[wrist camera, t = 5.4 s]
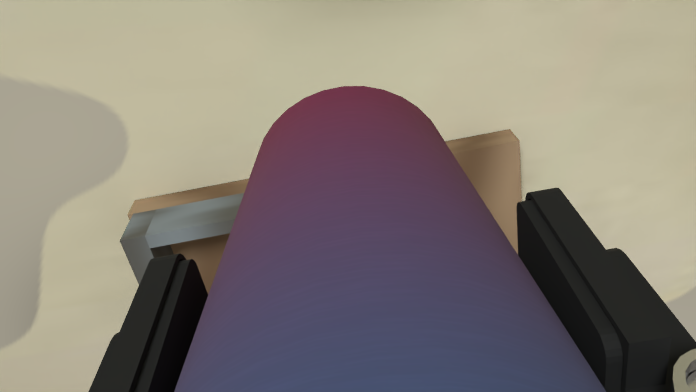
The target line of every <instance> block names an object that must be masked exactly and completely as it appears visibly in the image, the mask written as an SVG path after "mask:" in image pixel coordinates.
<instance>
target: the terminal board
mask: <svg viewBox="0 0 696 392" xmlns="http://www.w3.org/2000/svg"><path fill="white" fill-rule="evenodd" d="M445 143H446V144H447V146H448V147H449V149H450V150H451V152H452V154H453V155H454V157H455V158H456V160H457V161H458V163H459V164H460V166H461V167H462V169H463V171H464V172H465V174H466V175H467V177H468V178H469V180H470V181H471V183H472V184H473V186H474V188H475V189H476V191H477V192H478V194H479V195H480V197H481V198H482V200H483V202H484V203H485V205H486V206H487V208H488V209H489V211H490V212H491V214H492V215H493V217H494V219H495V220H496V222H497V223H498V225H499V226H500V228H501V229H502V231H503V232H504V234H505V236H506V237H507V239H508V240H509V242H510V243H511V245H512V246H513V248H514V249H515V251H516V253H517V254H518V237H517V203H518V202H521V173H520V145H519V140H518V138H517V137H516V136H515V135H514V134H513V132H512V131H511V130H510V129H509V130H504V131H498V132H493V133H488V134H483V135H477V136H472V137H467V138H462V139H456V140H451V141H446V142H445ZM248 181H249V179H245V180H240V181H235V182H230V183H224V184H219V185H214V186H208V187H203V188H198V189H193V190H187V191H182V192H177V193H172V194H166V195H161V196H156V197H150V198H145V199H140V200H135V201H134V203H133V205H132V207H131V209H130V211H129V213H128V217H129V220H130V221H129V223H128V225H127V227H126V229H125V231H124V233H123V235H122V237H121V239H120V242H121V245H122V247H123V249H124V251H125V254H126V256H127V258H128V261H129V263H130V265H131V267H132V270H133V272H134V274H135V276H136V279H137V281H138V283H139V285H140V282H141V280H142V278H143V275H144V273H145V270H146V268H147V266H148V263H149V261H150V260H151V259H153V258H157V257H163V256H168V255H174V254H183V255H184V257H185V258H186V260H189V259H193V260H194V261H195V262H196V264H197V266H198V269H199V272H200V274H201V277H202V280H203V282H204V285H205V288H206V290H207V293H208V294H209V292H210V289H211V286H212V283H213V280H214V277H215V275H216V272H217V269H218V266H219V263H220V260H221V258H222V255H223V252H224V249H225V246H226V243H227V240H228V238H229V235H230V232H231V229H232V226H233V223H234V221H235V218H236V215H237V212H238V209H239V206H240V204H241V201H242V198H243V195H244V192H245V189H246V187H247V184H248Z"/></svg>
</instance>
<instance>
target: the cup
mask: <svg viewBox="0 0 696 392" xmlns="http://www.w3.org/2000/svg"><path fill="white" fill-rule="evenodd" d="M174 392H606V390H605V389H604V387H603V386H602V384H601V383H600V381H599V380H598V378H597V376H596V375H595V373H594V372H593V370H592V369H591V367H590V366H589V364H588V362H587V361H586V359H585V358H584V356H583V355H582V353H581V352H580V350H579V349H578V347H577V345H576V344H575V342H574V341H573V339H572V338H571V336H570V335H569V333H568V332H567V330H566V328H565V327H564V325H563V324H562V322H561V321H560V319H559V318H558V316H557V314H556V313H555V311H554V310H553V308H552V307H551V305H550V304H549V302H548V301H547V299H546V297H545V296H544V294H543V293H542V291H541V290H540V288H539V287H538V285H537V284H536V282H535V280H534V279H533V277H532V276H531V274H530V273H529V271H528V270H527V268H526V267H525V265H524V263H523V262H522V260H521V259H520V257H519V256H518V254H517V253H516V251H515V249H514V248H513V246H512V245H511V243H510V242H509V240H508V239H507V237H506V236H505V234H504V232H503V231H502V229H501V228H500V226H499V225H498V223H497V222H496V220H495V219H494V217H493V215H492V214H491V212H490V211H489V209H488V208H487V206H486V205H485V203H484V202H483V200H482V198H481V197H480V195H479V194H478V192H477V191H476V189H475V188H474V186H473V184H472V183H471V181H470V180H469V178H468V177H467V175H466V174H465V172H464V171H463V169H462V167H461V166H460V164H459V163H458V161H457V160H456V158H455V157H454V155H453V154H452V152H451V150H450V149H449V147H448V146H447V144H446V143H445V141H444V140H443V138H442V137H441V135H440V133H439V132H438V130H437V129H436V127H435V126H434V124H433V123H432V121H431V120H430V119H429V118H428V117H427V116H426V115H425V114H424V113H423V112H422V111H421V110H420V109H419V108H418V107H417V106H415V105H414V104H412V103H410V102H409V101H407V100H406V99H404V98H403V97H401V96H398V95H395V94H393V93H390V92H388V91H385V90H382V89H376V88H371V87H365V86H343V87H338V88H333V89H328V90H323V91H321V92H318V93H316V94H313V95H311V96H309V97H306V98H304V99H302V100H301V101H299V102H298V103H296V104H295V105H293V106H292V107H290V108H289V109H287V110H286V111H285V112H284V113H283V114H282V115H281V116H280V117H279V118H278V119H277V120H276V121H275V122H274V124H273V125H272V127H271V128H270V130H269V131H268V133H267V134H266V136H265V138H264V139H263V142H262V145H261V147H260V150H259V153H258V155H257V158H256V161H255V164H254V167H253V170H252V172H251V175H250V178H249V181H248V184H247V187H246V189H245V192H244V195H243V198H242V201H241V204H240V206H239V209H238V212H237V215H236V218H235V221H234V223H233V226H232V229H231V232H230V235H229V238H228V240H227V243H226V246H225V249H224V252H223V255H222V258H221V260H220V263H219V266H218V269H217V272H216V275H215V277H214V280H213V283H212V286H211V289H210V292H209V294H208V297H207V300H206V303H205V306H204V309H203V311H202V314H201V317H200V320H199V323H198V326H197V328H196V331H195V334H194V337H193V340H192V343H191V345H190V348H189V351H188V354H187V357H186V360H185V363H184V365H183V368H182V371H181V374H180V377H179V380H178V382H177V385H176V388H175V391H174Z"/></svg>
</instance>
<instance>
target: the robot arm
mask: <svg viewBox="0 0 696 392" xmlns="http://www.w3.org/2000/svg"><path fill="white" fill-rule="evenodd" d="M517 237H518V256H519V257H520V259H521V260H522V262H523V263H524V265H525V267H526V268H527V270H528V271H529V273H530V274H531V276H532V277H533V279H534V280H535V282H536V284H537V285H538V287H539V288H540V290H541V291H542V293H543V294H544V296H545V297H546V299H547V301H548V302H549V304H550V305H551V307H552V308H553V310H554V311H555V313H556V314H557V316H558V318H559V319H560V321H561V322H562V324H563V325H564V327H565V328H566V330H567V332H568V333H569V335H570V336H571V338H572V339H573V341H574V342H575V344H576V345H577V347H578V349H579V350H580V352H581V353H582V355H583V356H584V358H585V359H586V361H587V362H588V364H589V366H590V367H591V369H592V370H593V372H594V373H595V375H596V376H597V378H598V380H599V381H600V383H601V384H602V386H603V387H604V389H605V390H606V392H696V342H695V340H694V339H693V338H692V337H691V336H690V334H689V333H688V332H687V330H686V329H685V328H684V327H683V325H682V324H681V323H680V322H679V321H678V319H677V318H676V317H675V315H674V314H673V313H672V312H671V310H670V309H669V308H668V307H667V305H666V304H665V303H664V302H663V300H662V299H661V298H660V297H659V295H658V294H657V293H656V292H655V290H654V289H653V288H652V287H651V285H650V284H649V283H648V282H647V280H646V279H645V278H644V277H643V275H642V274H641V273H640V272H639V270H638V269H637V268H636V267H635V265H634V264H633V263H632V262H631V260H630V259H629V258H628V257H627V255H626V254H625V253H624V252H623V251H622V250H620V249H617V248H614V249H608V250H606V249H605V248H604V247H603V245H602V244H601V243H600V241H599V240H598V239H597V237H596V236H595V235H594V233H593V232H592V231H591V229H590V228H589V227H588V225H587V224H586V223H585V221H584V220H583V219H582V218H581V216H580V215H579V214H578V212H577V211H576V210H575V208H574V207H573V206H572V204H571V203H570V202H569V200H568V199H567V198H566V196H565V195H564V194H563V192H562V191H561V190H560V189H559V188H552V189H546V190H541V191H535V192H529V193H527V194H526V200H525V201H522V202H518V203H517ZM207 297H208V293H207V290H206V288H205V285H204V282H203V280H202V277H201V274H200V272H199V269H198V266H197V264H196V262H195V261H194V260H193V259H189V260H186V258H185V257H184V255H183V254H174V255H168V256H163V257H157V258H153V259H151V260H150V261H149V263H148V266H147V268H146V270H145V273H144V275H143V278H142V280H141V282H140V285H139V287H138V289H137V292H136V294H135V297H134V299H133V301H132V304H131V306H130V309H129V311H128V313H127V316H126V318H125V320H124V323H123V325H122V328H121V330H120V332H119V333H117V334H116V335H114V337H113V338H112V340H111V341H110V344H109V346H108V348H107V351H106V353H105V355H104V357H103V360H102V362H101V364H100V367H99V369H98V371H97V374H96V376H95V378H94V381H93V383H92V385H91V388H90V390H89V392H174V391H175V388H176V385H177V382H178V380H179V377H180V374H181V371H182V368H183V365H184V363H185V360H186V357H187V354H188V351H189V348H190V345H191V343H192V340H193V337H194V334H195V331H196V328H197V326H198V323H199V320H200V317H201V314H202V311H203V309H204V306H205V303H206V300H207Z"/></svg>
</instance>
